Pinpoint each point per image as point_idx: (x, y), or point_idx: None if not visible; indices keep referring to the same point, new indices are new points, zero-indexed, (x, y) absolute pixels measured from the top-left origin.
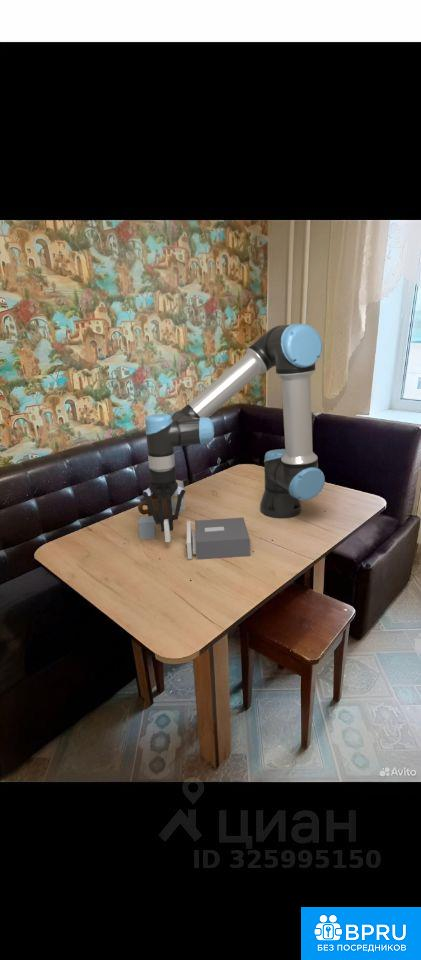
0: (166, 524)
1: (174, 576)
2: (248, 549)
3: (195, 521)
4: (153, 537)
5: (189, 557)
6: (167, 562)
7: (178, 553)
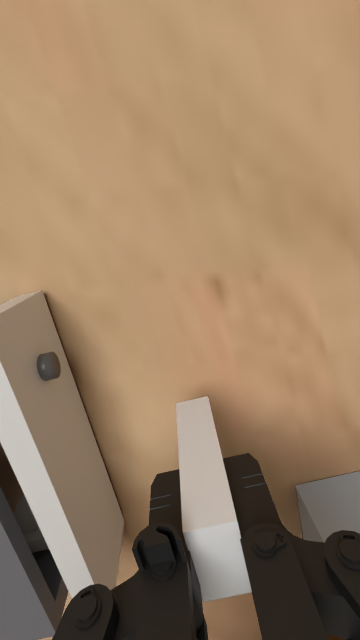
0: (206, 509)
1: (63, 84)
2: None
3: (47, 625)
4: (307, 487)
5: (27, 294)
6: (160, 251)
7: (125, 355)
